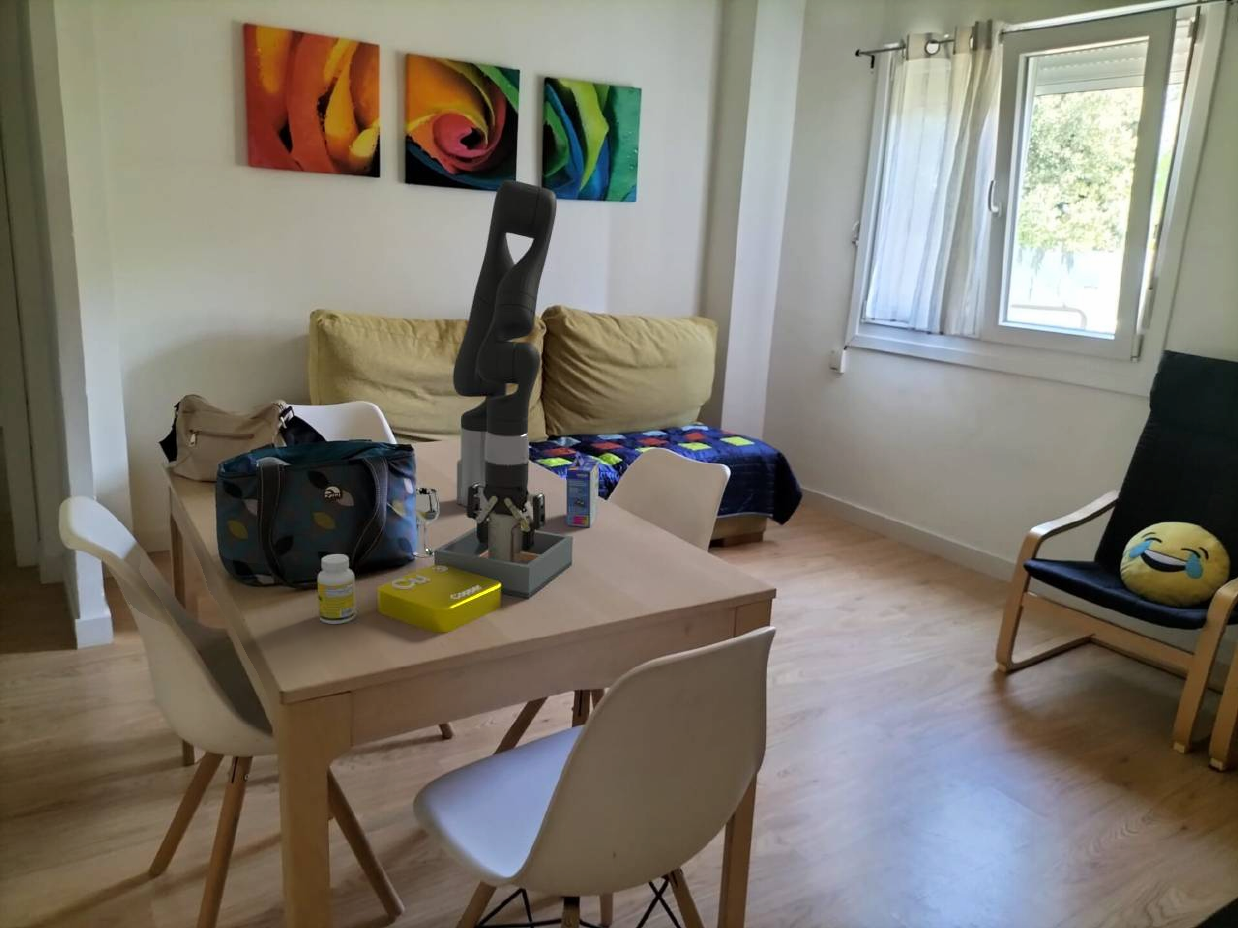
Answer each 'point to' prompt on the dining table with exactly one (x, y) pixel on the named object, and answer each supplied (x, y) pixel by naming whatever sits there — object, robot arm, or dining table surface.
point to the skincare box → (504, 538)
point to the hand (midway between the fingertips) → (505, 546)
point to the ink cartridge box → (582, 492)
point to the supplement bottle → (336, 590)
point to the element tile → (439, 598)
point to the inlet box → (515, 579)
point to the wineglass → (426, 514)
